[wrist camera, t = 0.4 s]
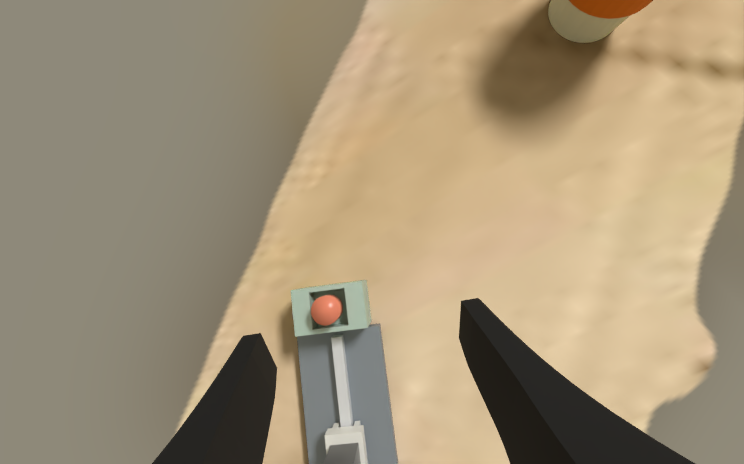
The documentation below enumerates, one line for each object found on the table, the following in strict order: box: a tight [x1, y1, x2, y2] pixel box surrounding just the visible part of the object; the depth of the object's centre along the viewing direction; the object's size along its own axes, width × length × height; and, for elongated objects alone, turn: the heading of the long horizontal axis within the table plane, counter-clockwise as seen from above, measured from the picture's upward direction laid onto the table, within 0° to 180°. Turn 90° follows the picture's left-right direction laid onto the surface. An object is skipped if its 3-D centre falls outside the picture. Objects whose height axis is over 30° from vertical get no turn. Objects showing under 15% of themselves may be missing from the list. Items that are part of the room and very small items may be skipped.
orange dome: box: [311, 294, 343, 326], centre depth 33 cm, size 3×3×2 cm
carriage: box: [323, 421, 368, 464], centre depth 31 cm, size 5×4×7 cm
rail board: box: [297, 324, 398, 464], centre depth 36 cm, size 18×10×3 cm, turn 8°
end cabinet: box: [291, 280, 371, 337], centre depth 36 cm, size 5×8×5 cm, turn 98°
